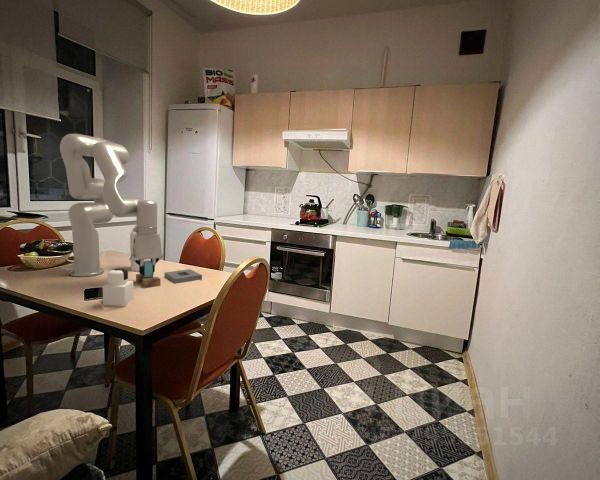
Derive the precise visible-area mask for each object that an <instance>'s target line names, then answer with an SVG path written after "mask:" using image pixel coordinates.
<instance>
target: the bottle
mask: <svg viewBox="0 0 600 480" xmlns="http://www.w3.org/2000/svg"><path fill="white" fill-rule="evenodd" d="M136 226H137V216H135V225H134V226H133V228H136ZM135 234H137V233H136V232H133V229H131V232H130V234H129V240H130V244H129V246H130V256H131V255H132V253H133V242H134V237H135ZM135 259H136V258H135ZM137 260H138V259H137ZM148 260H149V261H150V259H144V261H148ZM130 270H131V271H133V272H139V265H138V264H137V263H135V262H133V261H130Z"/></svg>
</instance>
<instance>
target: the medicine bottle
mask: <svg viewBox="0 0 600 480" xmlns="http://www.w3.org/2000/svg"><path fill="white" fill-rule="evenodd" d="M101 290H102V305H103V306H116V307H117V308H119V307H123V308H124V307H126V306H127V305H128V304H129V303H130V302H132V300H134V299H135V297H134V281H133V280H129V270H128V269H125V268H123V267H122V268H117V267H116V268H112V269H110V270H108V271H107V283H106V284H104V285H102V288H101Z"/></svg>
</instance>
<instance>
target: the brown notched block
mask: <svg viewBox="0 0 600 480" xmlns="http://www.w3.org/2000/svg"><path fill="white" fill-rule="evenodd" d="M135 282H136V283H138V284H139V285H140V286H142V287H143V288H144V289H147V288H148V289H149V288H154V287H160V286H161V278H160V277H159V276H154V275H153V276H152V277H144V276H142V275H141V274H140V273H136V274H135Z"/></svg>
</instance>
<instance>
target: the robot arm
mask: <svg viewBox="0 0 600 480" xmlns="http://www.w3.org/2000/svg"><path fill="white" fill-rule="evenodd" d="M59 144H60V145H59V152H60V154H61V159H62V161H63V163H64V166H65V171H66V172H65V173H66V179H67V183H68V184H67V185H68V191H69V194H70V196H71V198H73V199H76V200H85V201H86V200H89V201H90V200H93V202H76V203H74V204H72V205H71V206H70V207H69V208H68V212H67V213H68V219H69V223H70V225H71V232H72V233H71V235H72V248H73V249H72V250H73V251H72V252H73V263H72V264H71V265H69V266H66V265H65V266H60V271H61V272H69V274H70V276H72V277H77V278H78V277H84V278H85V277H94V276H99V275H102V274H104V271H105V270H104V268H101V264H100V239H99V232H98V230H97V229H96V227H95V226H94V225H97V224H105V223H109V222H111V220H112V219H113V217H114V216H115V217H117V218H131V217H132V218H133V217H135V218H136V216H137V226H136V228H134V227H133V228H132V230H133V232H136V233H137V234H135V237H134V242H133V253H132V255H131V254H130V257H129V261H130V262H131V261H133V262H135V263H137V264H138V265H139V271H138V272H139V273H138V274H141V275H142V276H144V265H143V263H144V259H149V261H151V262H153V276H154V274H155V271H156V270H155V267H156V265H157V263H158V262H159V261H160V260H162V259H164V258H165V257H164V255H163V253H162V242H161V235H160V234H159V233H158V203H157V201H156V200H155V201H154V200H149V199H143V198H140V197H139V198H135V197H121V195H120V194H119V192H118V189H117V184H120V183H122V182H124V180H125V179H127V177H128V172H127V170H126V168H125V166H124V165H126V164H127V163H128V162H129V160H130V154H129V151H128V150H127V148H126V147H125V146H123V145H121V144H119V143H116V142H114V141H110V140H108V139H105V138H100V137H96V136H91V135H85V134H80V133H68V134H66V135H65V136H63V137H62V139H61V141H60V143H59ZM83 156H85V157H92V158H94V161H95V163H96V165H97V167H98V168H99V170H100V172H101V175H102V176H103V178H104V179H101V178H95V177H92V176H91V175H92V174H91V169H90V166H89V164H88V162H87V161H86V160H85V159H84V157H83ZM135 258H136V259H135ZM137 259H138V260H137Z"/></svg>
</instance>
